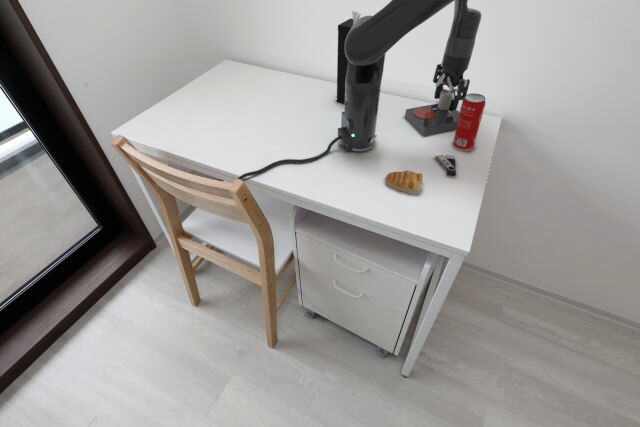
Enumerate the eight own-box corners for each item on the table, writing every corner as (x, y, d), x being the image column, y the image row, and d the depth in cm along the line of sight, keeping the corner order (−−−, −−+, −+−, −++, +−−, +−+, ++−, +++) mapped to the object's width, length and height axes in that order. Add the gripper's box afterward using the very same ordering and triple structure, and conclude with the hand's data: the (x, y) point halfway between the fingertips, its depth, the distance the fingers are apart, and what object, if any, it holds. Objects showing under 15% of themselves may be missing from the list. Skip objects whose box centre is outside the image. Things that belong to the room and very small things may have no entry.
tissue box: (355, 107, 116) (361, 16, 96) (336, 102, 119) (337, 12, 99) (366, 98, 121) (373, 9, 101) (347, 93, 124) (350, 6, 104)
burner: (419, 120, 104) (420, 120, 104) (409, 110, 108) (409, 109, 108) (439, 117, 105) (439, 116, 105) (428, 107, 110) (428, 106, 110)
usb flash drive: (455, 176, 89) (456, 173, 88) (434, 174, 90) (435, 171, 89) (454, 157, 95) (455, 154, 94) (434, 155, 96) (435, 152, 95)
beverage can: (474, 152, 97) (492, 103, 86) (450, 150, 98) (465, 101, 87) (471, 141, 101) (488, 93, 90) (449, 139, 102) (463, 91, 91)
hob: (423, 136, 103) (425, 127, 101) (402, 116, 112) (404, 107, 110) (468, 127, 106) (471, 118, 104) (445, 108, 115) (447, 99, 113)
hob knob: (452, 108, 108) (457, 93, 105) (442, 111, 108) (446, 95, 104) (445, 103, 111) (449, 87, 107) (434, 105, 110) (438, 90, 106)
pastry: (382, 190, 86) (384, 178, 83) (386, 174, 90) (388, 162, 88) (420, 196, 84) (423, 184, 81) (422, 179, 89) (425, 168, 86)
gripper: (485, 58, 93) (467, 112, 105) (455, 41, 103) (442, 92, 114) (461, 62, 91) (446, 116, 103) (433, 44, 101) (422, 96, 113)
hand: (444, 104), depth 109 cm, fingers open, 8 cm apart
